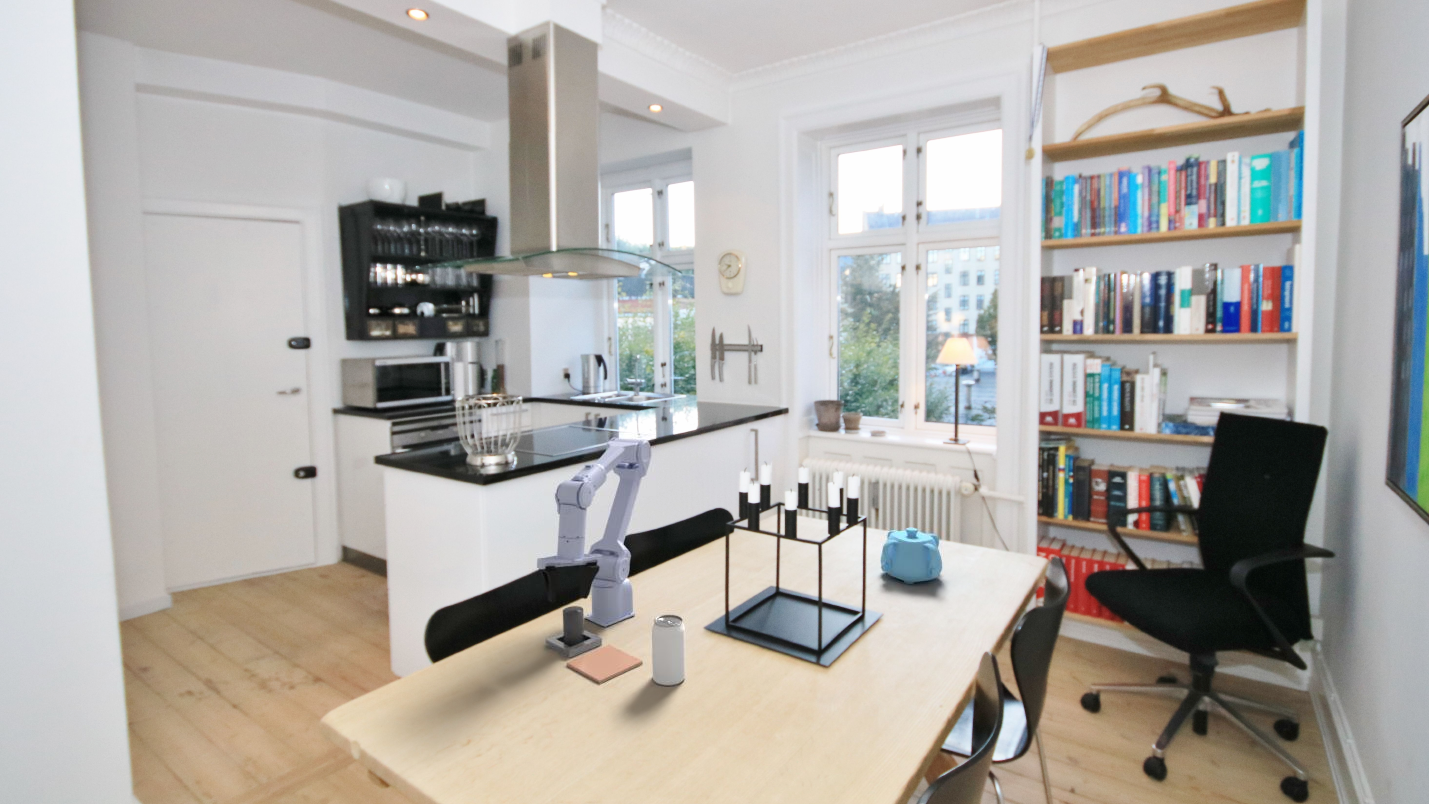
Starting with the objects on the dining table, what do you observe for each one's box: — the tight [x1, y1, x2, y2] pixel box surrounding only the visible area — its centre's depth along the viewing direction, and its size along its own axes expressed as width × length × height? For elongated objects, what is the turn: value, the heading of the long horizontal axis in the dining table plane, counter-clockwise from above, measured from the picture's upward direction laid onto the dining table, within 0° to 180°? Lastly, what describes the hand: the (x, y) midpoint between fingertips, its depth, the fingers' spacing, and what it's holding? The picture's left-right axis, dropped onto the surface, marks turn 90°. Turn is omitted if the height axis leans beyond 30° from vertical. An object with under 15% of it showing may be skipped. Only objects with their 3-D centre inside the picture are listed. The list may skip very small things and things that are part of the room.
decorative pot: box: [880, 527, 943, 585], centre depth 195 cm, size 16×16×14 cm
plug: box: [562, 605, 585, 647], centre depth 155 cm, size 4×4×8 cm
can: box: [651, 614, 686, 687], centre depth 140 cm, size 6×6×12 cm
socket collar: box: [545, 629, 603, 659], centre depth 155 cm, size 9×9×2 cm
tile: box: [566, 644, 643, 684], centre depth 146 cm, size 11×11×1 cm
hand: (567, 599), depth 153 cm, fingers open, 7 cm apart
